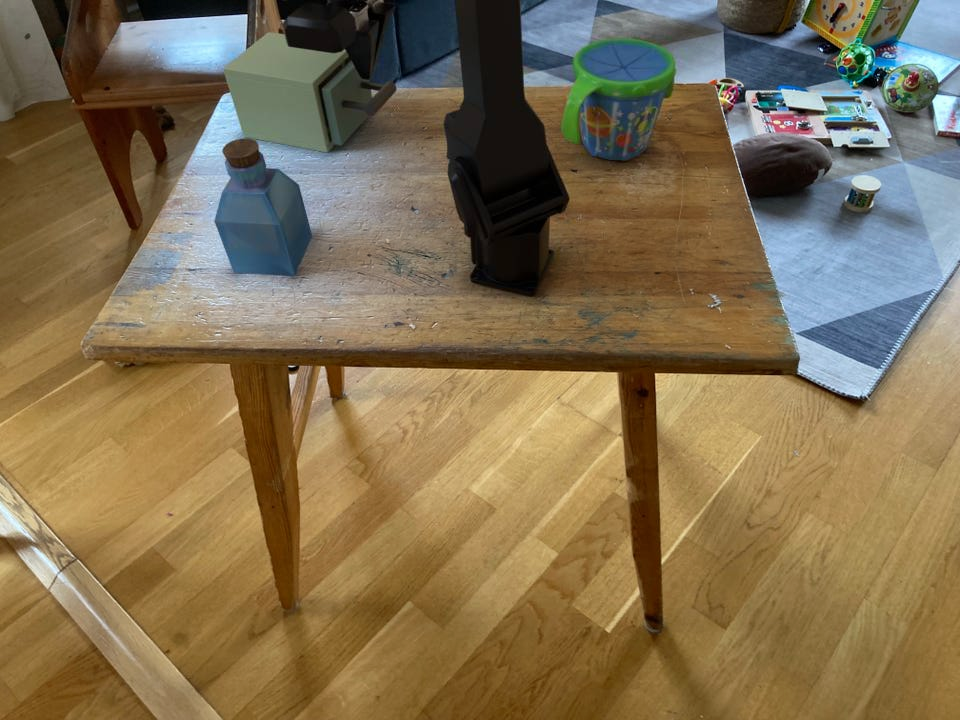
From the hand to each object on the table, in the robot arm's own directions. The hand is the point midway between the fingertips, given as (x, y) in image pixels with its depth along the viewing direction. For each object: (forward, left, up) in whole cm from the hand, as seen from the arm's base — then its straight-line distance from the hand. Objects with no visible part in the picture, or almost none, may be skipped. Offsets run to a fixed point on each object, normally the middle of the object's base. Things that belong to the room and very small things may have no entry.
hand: (366, 77), depth 83 cm
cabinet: (+10, 0, -7) cm, 12 cm away
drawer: (+5, 0, -7) cm, 8 cm away
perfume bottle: (0, +23, -8) cm, 24 cm away
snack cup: (-27, -7, -8) cm, 29 cm away
